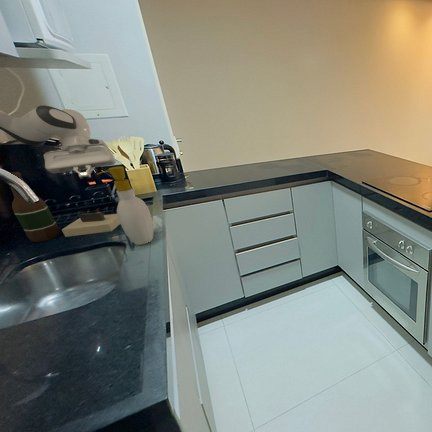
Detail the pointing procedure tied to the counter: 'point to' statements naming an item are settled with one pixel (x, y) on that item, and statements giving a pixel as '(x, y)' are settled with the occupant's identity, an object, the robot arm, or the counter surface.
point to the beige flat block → (92, 226)
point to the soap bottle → (131, 210)
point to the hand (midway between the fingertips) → (85, 177)
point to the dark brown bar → (92, 217)
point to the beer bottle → (34, 217)
